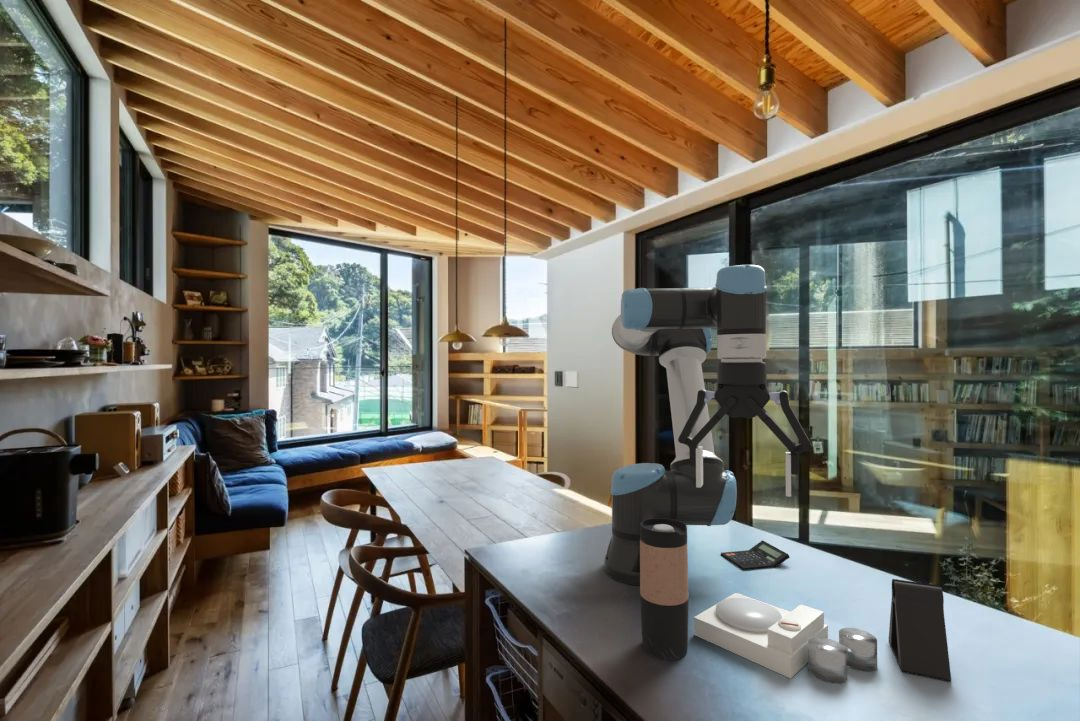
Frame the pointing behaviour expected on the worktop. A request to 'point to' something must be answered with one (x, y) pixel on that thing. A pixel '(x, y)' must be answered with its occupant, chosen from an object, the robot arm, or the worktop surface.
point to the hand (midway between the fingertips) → (742, 490)
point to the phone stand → (919, 629)
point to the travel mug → (664, 588)
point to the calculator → (757, 557)
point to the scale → (762, 631)
